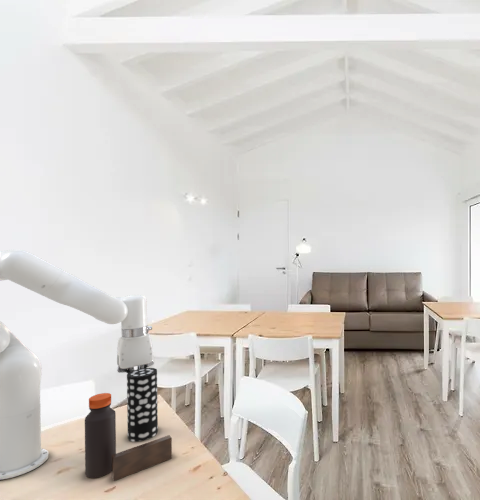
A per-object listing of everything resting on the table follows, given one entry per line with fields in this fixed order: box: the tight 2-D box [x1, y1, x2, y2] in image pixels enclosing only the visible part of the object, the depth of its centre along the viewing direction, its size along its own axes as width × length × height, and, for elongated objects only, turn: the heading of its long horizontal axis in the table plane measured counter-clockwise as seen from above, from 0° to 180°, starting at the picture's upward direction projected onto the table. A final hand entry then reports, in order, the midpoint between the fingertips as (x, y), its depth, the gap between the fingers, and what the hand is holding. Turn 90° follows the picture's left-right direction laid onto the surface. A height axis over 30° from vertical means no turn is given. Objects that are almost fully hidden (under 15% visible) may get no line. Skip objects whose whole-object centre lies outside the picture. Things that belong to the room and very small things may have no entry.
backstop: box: [111, 434, 173, 482], centre depth 96 cm, size 14×2×6 cm, turn 134°
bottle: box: [84, 392, 117, 479], centre depth 95 cm, size 7×7×20 cm
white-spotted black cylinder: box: [126, 367, 159, 443], centre depth 113 cm, size 8×8×20 cm
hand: (136, 385), depth 120 cm, fingers closed
